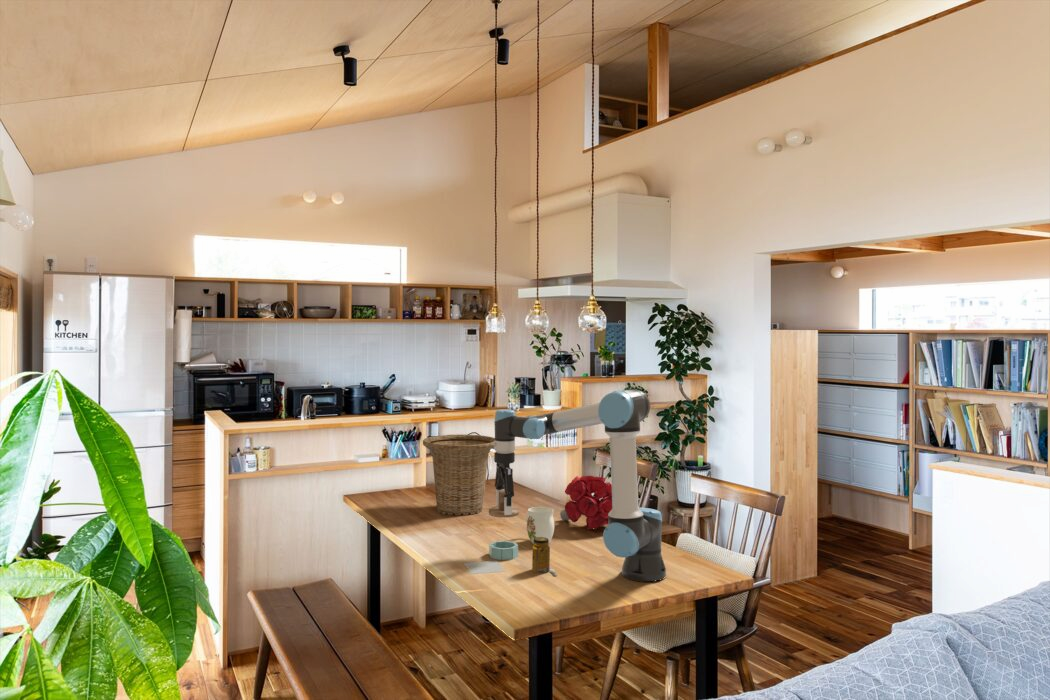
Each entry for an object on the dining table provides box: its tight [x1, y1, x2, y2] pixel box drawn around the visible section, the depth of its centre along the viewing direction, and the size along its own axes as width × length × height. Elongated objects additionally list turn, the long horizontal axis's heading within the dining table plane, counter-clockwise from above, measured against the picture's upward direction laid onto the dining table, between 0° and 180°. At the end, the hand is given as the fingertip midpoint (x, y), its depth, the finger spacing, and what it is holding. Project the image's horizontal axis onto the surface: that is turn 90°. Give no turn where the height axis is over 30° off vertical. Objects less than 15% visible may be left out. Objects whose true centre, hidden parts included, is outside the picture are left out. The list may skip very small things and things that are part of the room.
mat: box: [463, 560, 506, 575], centre depth 257 cm, size 12×12×1 cm
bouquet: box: [559, 475, 612, 531], centre depth 315 cm, size 22×24×30 cm
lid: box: [488, 490, 520, 518], centre depth 270 cm, size 11×11×8 cm
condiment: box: [531, 537, 557, 576], centre depth 253 cm, size 7×8×12 cm
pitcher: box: [526, 506, 555, 545], centre depth 291 cm, size 11×18×14 cm, turn 31°
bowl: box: [488, 540, 519, 561], centre depth 270 cm, size 10×10×5 cm
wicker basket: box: [422, 434, 495, 516], centre depth 341 cm, size 35×35×33 cm
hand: (503, 510), depth 270 cm, fingers closed on lid, 11 cm apart
